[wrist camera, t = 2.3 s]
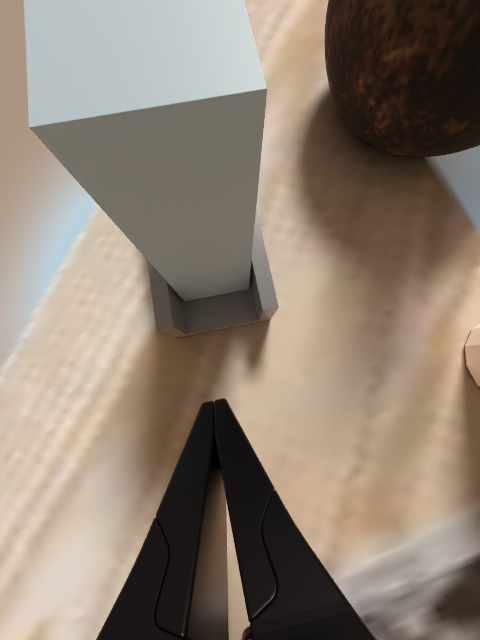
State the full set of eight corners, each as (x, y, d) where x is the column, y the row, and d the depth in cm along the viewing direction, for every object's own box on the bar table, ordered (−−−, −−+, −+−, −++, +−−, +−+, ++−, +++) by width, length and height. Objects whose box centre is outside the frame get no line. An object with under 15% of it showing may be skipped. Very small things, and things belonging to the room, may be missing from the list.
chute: (270, 319, 19) (278, 306, 15) (175, 337, 19) (157, 330, 15) (236, 164, 22) (235, 116, 18) (152, 178, 22) (131, 133, 18)
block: (248, 289, 19) (266, 88, 5) (184, 301, 19) (28, 127, 5) (236, 231, 20) (225, -72, 6) (175, 242, 20) (22, -43, 6)
